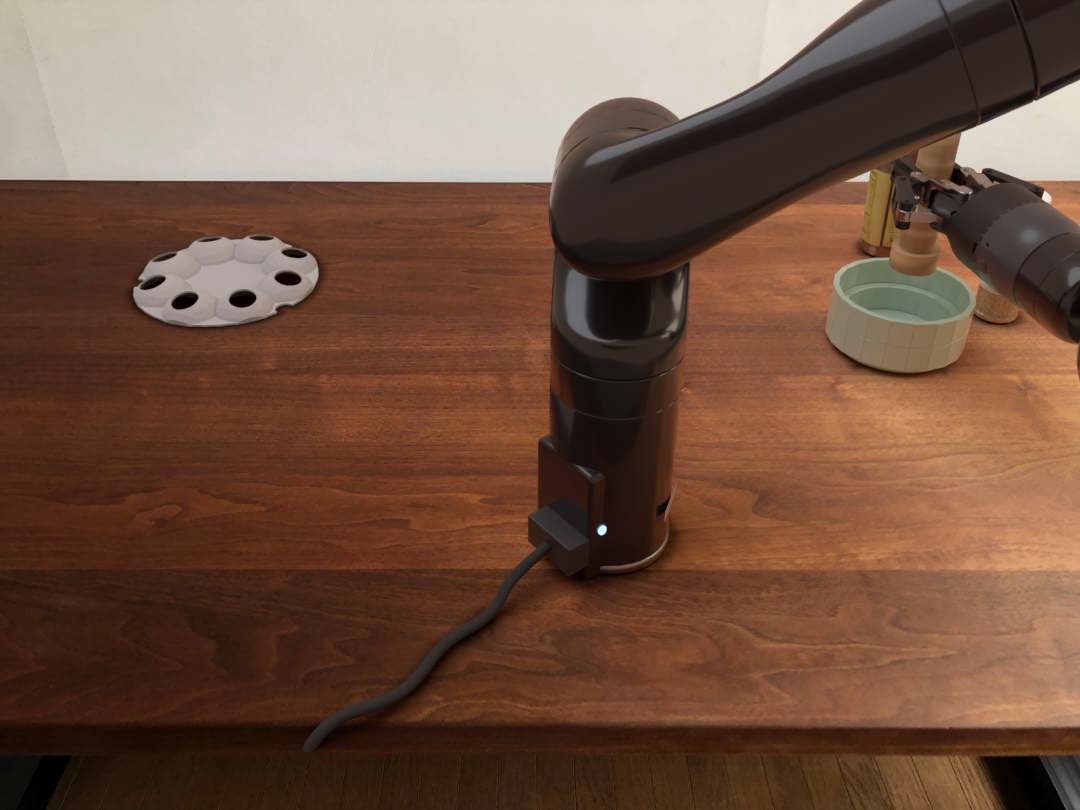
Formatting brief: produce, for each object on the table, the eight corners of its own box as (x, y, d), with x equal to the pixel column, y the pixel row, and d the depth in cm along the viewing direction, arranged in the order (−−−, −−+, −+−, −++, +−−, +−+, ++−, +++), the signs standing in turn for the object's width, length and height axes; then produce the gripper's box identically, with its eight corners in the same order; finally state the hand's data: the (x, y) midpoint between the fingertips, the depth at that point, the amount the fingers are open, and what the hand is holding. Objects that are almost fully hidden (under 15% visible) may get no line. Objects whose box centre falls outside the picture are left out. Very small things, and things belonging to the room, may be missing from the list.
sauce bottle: (920, 246, 122) (960, 75, 111) (904, 267, 118) (944, 92, 106) (865, 233, 125) (898, 65, 114) (847, 253, 121) (880, 81, 109)
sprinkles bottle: (1025, 317, 109) (1063, 196, 101) (997, 329, 107) (1033, 207, 99) (988, 298, 112) (1022, 180, 105) (960, 310, 110) (992, 190, 102)
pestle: (917, 281, 97) (956, 111, 88) (878, 263, 100) (912, 97, 91) (946, 267, 100) (986, 100, 90) (907, 250, 102) (942, 87, 93)
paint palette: (259, 341, 105) (256, 323, 103) (94, 308, 110) (89, 291, 109) (350, 255, 120) (348, 239, 119) (201, 230, 125) (198, 214, 124)
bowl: (906, 394, 98) (920, 339, 94) (796, 335, 106) (805, 282, 103) (988, 348, 104) (1004, 295, 101) (878, 296, 113) (889, 245, 109)
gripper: (1116, 196, 82) (994, 120, 96) (951, 212, 80) (851, 132, 94) (1087, 281, 87) (975, 197, 101) (930, 299, 84) (837, 210, 98)
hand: (915, 166), depth 97 cm, fingers closed on pestle, 3 cm apart
